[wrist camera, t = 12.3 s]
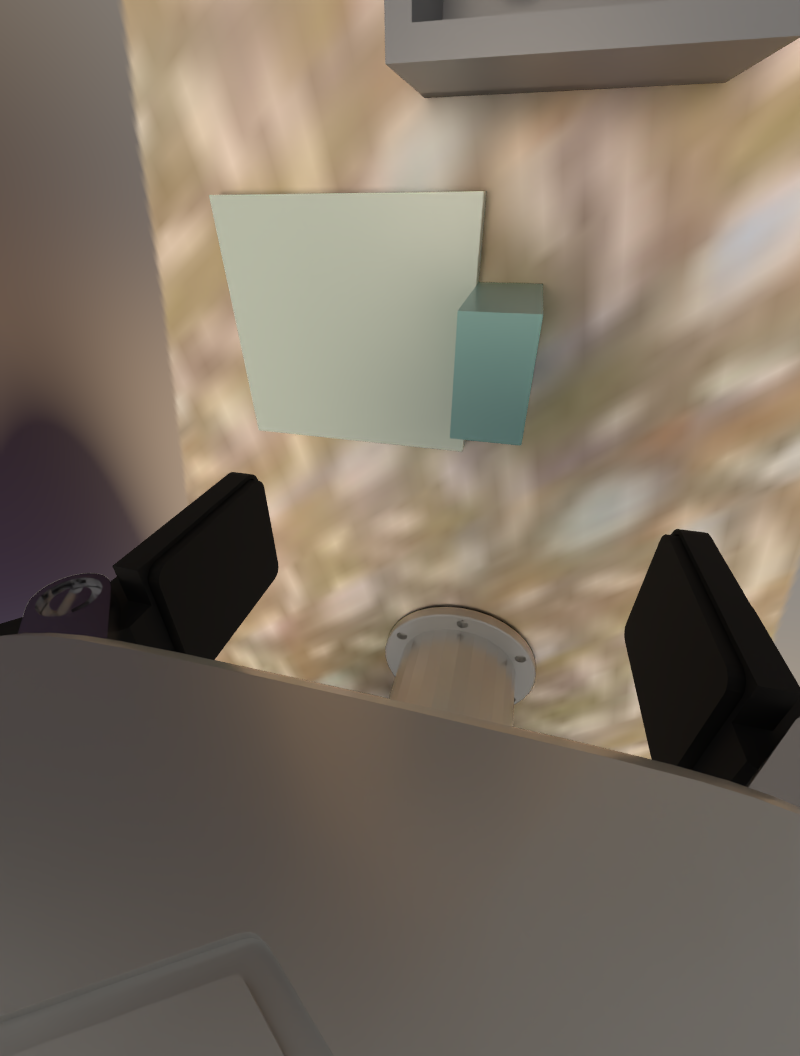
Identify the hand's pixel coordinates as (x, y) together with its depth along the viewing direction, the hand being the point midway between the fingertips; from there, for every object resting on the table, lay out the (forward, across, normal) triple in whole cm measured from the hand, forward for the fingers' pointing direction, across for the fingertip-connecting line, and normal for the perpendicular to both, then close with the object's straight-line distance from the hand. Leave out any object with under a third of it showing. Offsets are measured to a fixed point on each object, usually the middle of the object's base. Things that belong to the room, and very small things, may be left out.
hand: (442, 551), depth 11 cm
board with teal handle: (+16, +6, -2) cm, 17 cm away
